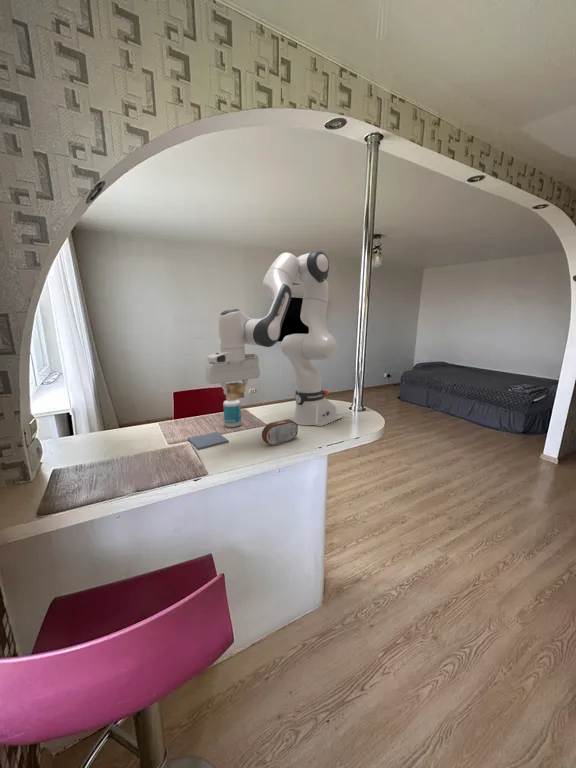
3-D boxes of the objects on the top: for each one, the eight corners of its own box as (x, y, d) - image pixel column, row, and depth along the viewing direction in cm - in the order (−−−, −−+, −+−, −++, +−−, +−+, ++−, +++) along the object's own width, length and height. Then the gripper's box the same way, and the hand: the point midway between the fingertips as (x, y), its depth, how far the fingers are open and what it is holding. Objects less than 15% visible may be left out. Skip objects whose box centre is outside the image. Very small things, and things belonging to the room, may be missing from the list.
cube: (238, 394, 125) (237, 382, 124) (244, 397, 121) (243, 384, 120) (226, 396, 123) (225, 383, 122) (231, 399, 119) (231, 385, 118)
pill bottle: (243, 426, 144) (241, 396, 141) (226, 428, 141) (224, 398, 139) (239, 421, 151) (237, 392, 148) (223, 423, 148) (221, 394, 145)
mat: (216, 433, 136) (216, 431, 136) (228, 442, 126) (228, 440, 126) (187, 440, 129) (187, 438, 129) (198, 450, 120) (197, 447, 119)
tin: (294, 437, 130) (294, 416, 129) (299, 439, 128) (299, 418, 126) (261, 446, 122) (260, 424, 120) (265, 448, 119) (265, 426, 118)
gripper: (254, 352, 127) (255, 387, 130) (202, 356, 116) (205, 395, 119) (262, 353, 122) (263, 390, 125) (209, 358, 111) (211, 398, 114)
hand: (234, 392), depth 122 cm, fingers closed on cube, 5 cm apart
